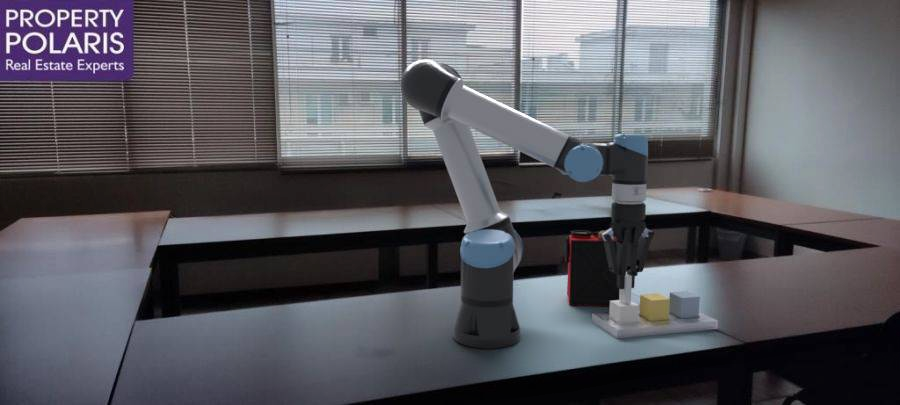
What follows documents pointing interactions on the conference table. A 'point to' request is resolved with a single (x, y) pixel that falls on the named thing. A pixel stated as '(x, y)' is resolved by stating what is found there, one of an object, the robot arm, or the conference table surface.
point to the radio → (589, 270)
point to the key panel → (654, 325)
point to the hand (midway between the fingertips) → (624, 301)
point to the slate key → (684, 304)
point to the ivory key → (623, 312)
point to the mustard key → (654, 307)
